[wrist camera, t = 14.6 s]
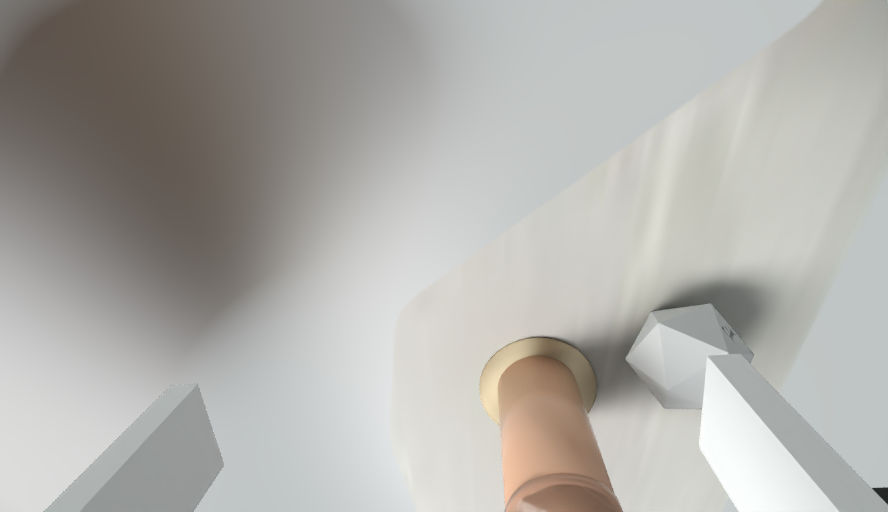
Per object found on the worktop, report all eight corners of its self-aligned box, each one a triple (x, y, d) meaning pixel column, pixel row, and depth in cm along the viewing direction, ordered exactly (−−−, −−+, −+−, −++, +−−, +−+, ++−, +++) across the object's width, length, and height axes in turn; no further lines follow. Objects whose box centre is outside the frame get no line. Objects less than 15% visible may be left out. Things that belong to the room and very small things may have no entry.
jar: (578, 351, 43) (627, 480, 29) (579, 421, 46) (624, 570, 32) (492, 356, 44) (500, 484, 30) (498, 425, 47) (508, 572, 33)
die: (714, 367, 44) (802, 362, 35) (652, 427, 42) (729, 439, 33) (656, 297, 45) (727, 274, 36) (593, 352, 43) (651, 342, 34)
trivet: (595, 333, 43) (596, 336, 43) (595, 432, 47) (596, 435, 46) (474, 341, 44) (474, 343, 44) (484, 436, 48) (484, 439, 47)
